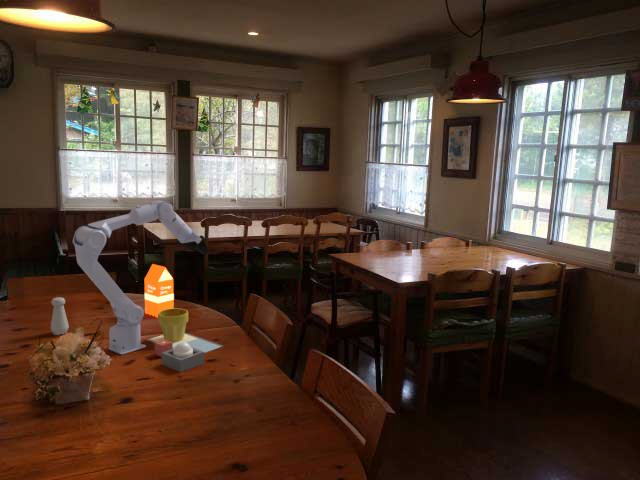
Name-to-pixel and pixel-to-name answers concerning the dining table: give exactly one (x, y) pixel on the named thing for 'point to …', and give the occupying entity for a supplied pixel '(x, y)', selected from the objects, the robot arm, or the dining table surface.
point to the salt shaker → (59, 317)
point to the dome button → (183, 350)
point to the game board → (192, 342)
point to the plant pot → (173, 323)
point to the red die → (162, 347)
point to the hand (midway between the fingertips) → (201, 251)
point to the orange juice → (158, 290)
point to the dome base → (182, 360)
